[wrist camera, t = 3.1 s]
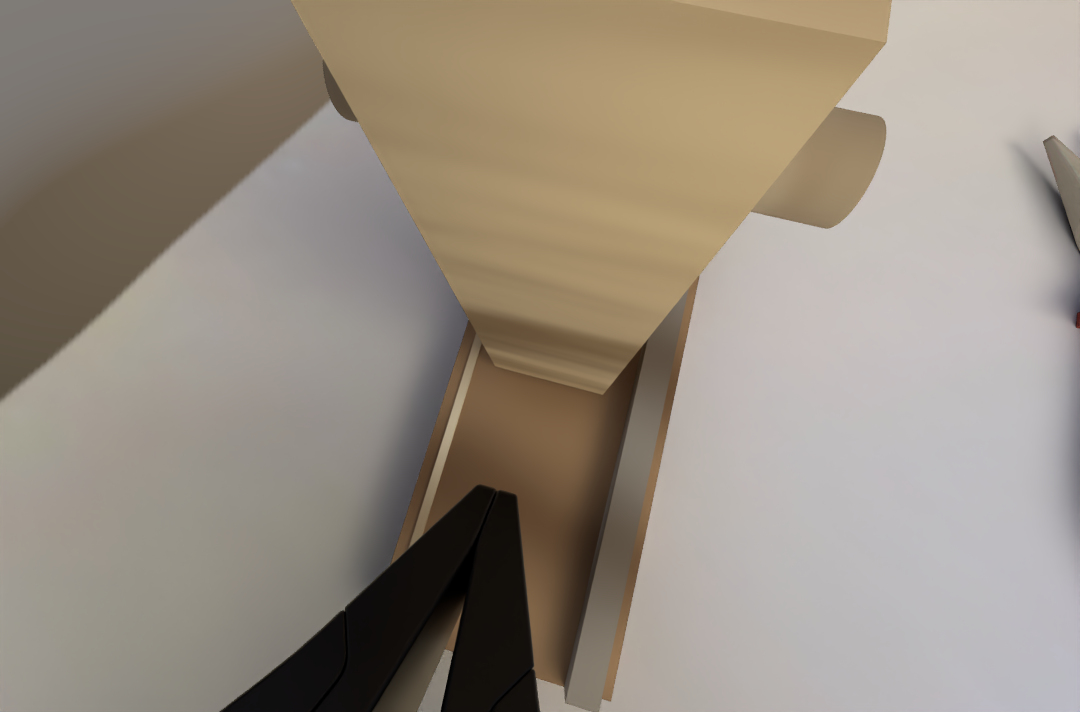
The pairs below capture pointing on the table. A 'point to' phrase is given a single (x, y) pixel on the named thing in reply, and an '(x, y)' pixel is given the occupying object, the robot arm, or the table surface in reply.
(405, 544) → the board
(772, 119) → the beige boxy piece
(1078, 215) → the pliers
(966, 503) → the table surface
